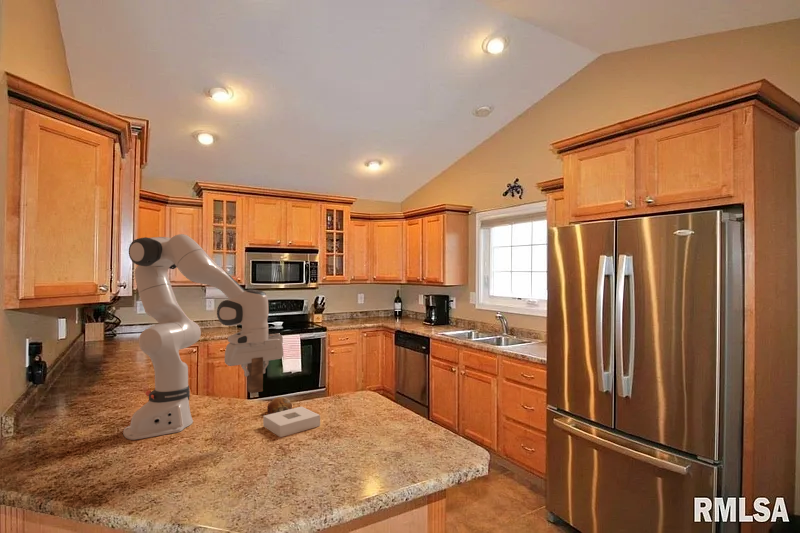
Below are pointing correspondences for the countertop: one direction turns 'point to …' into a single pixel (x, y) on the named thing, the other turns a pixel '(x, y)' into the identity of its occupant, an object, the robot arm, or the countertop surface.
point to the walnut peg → (255, 375)
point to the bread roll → (279, 405)
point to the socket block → (291, 421)
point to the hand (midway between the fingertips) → (254, 374)
